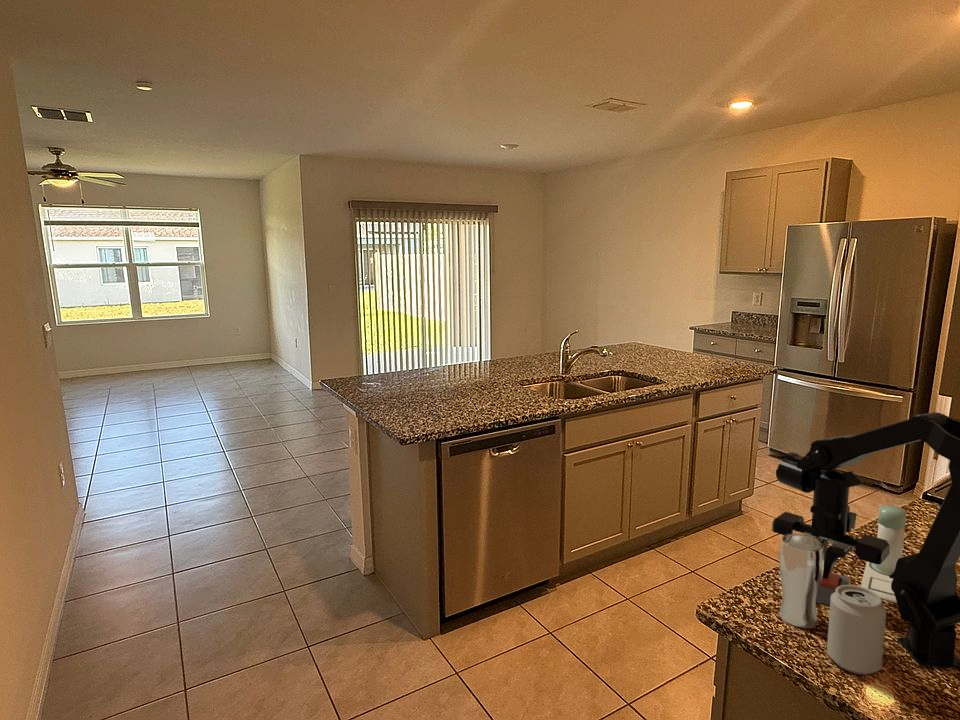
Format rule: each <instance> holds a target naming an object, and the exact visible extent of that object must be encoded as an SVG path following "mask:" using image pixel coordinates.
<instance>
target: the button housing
mask: <svg viewBox="0 0 960 720" xmlns="http://www.w3.org/2000/svg"><path fill="white" fill-rule="evenodd" d="M831 573H833V574H836V575H840V582H839V586H842V585H851V577H850V576H846V575H843V574H839V573H835V572H832V571H831ZM834 592H836V589H833V588H829V587H825V586H822V585H820V589H819V592H818V595H817V599H816V603H818V604H823V605H825V606H829V607H830V599H831V595H832V594H833V593H834Z"/></svg>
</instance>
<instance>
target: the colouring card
mask: <svg viewBox="0 0 960 720" xmlns="http://www.w3.org/2000/svg"><path fill="white" fill-rule="evenodd" d="M890 575H891V573H886V572H883V571H881V570H879V569H877V568H876V567H875V564H874V563H871V562H867V561H866V564H865V567H864V571H863V575H862V580H861V584H860V587H863V588H866V589H869V590H870V591H872V592H874V593H876V594H877V595H878V596H879V597H880V598H881V599H882V601H887V602H890V603H894V604H897V601H896V597H895V594H894V592H893V591H892V590H891V583H892V580H893V579H892V578H890V577H889V576H890Z"/></svg>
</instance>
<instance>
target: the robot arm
mask: <svg viewBox="0 0 960 720" xmlns="http://www.w3.org/2000/svg"><path fill="white" fill-rule="evenodd" d="M916 442H924V443H925V444H926V445H928V446H929V447H930V448H931V449H932V450H933V451H934V452H935V453H936V454H937V455H939V456H941V457H943V458H945V459H947V460H949V463H948V472H949V475H950V480H951V481H950V486H949V488H948V490H947V493H946V495H945V497H944V499H943V501H942V503H941V505H940V507H939V509H938V512H937V514H936V515H935V518H934V520H933V523H932V524H931V527H930V528H929V531H928V533H927V535H926V536H925V540H924V542H923V544H922V546H921V548H920V550H919V551H918V552H917V553H916V552H915V553H913V554H910V555H907V556H902V558H899V559H898V561H897V563H896V567H895V571H894V572H893V574H891V575H890V576H889V577H890V578H892V579H893V580H892V583H891V590H892V591H893V592H894V594H895V597H896V601H897V603H896V604H897V608H898V611H899V616H900V619H902V620H903V621H905V622H907V623H908V631H907V632H908V633H907V637H898V639H897V643H899V644H900V645H901V646H902V647H903V648H904V650H905V651H906V652H907V653H908V654H909V655H910V656H911V658H913V660H914V661H915V662H916V663H917V664H918V665H920V666H922V667H935V668H949V669H951V668H952V669H960V659H959V658H958V657H957V656H956V654H955V651H956V643H957V642H956V641H957V630H956V627H957V626H956V625H957V624H960V595H959V594H958V592H957V590H956V588H957V586H958V585H957V584H958V581H959V580H958V575H957V571H956V564H957V563H958V560H959V559H960V420H958V419H955V418H952V417H950V416H949V415H946V414H943V413H941V412H936V411H934V412H927V413H921V414H920V413H919V414H915V415H913V416H912V417H911V418H908V419H904V420H901V421H898V422H895V423H891V424H888V425H884V426H882V427H878V428H875V429H872V430H869V431H865V432H862V433H858V434H857V433H856V434H847V435H845V434H844V435H838V436H833V437H827V438H821V439H816V440H814V441H812V443H810V450H809V451H808V452H807V453H806V454H805V455H804V456H802V455H800V454H798V453H796V452H794V451H793V452H787V453H786V452H785V454H784V458H783V459H782V460H781V461H780V462H779V464H778V466H777V467H776V469H775V476H776V480H777V481H778V482H779V483H781V484H783V485H786V486H788V487H791V488H793V489H795V490H798V491H800V492H803V493H809V494H810V493H811V492H813V497H812V505H811V506H810V509H809V510H810V511H809V513H811V524H808V523H805V518H804V517H803V515H798V514H795V513H792V512H788V511H784V512H782V513H781V514H780V515H778V516H777V517H775V518H773V520H772V524H771V529H772V530H771V531H772V532H773V533H775V534H778V535H782V536H784V535H787V534H794V533H793V532H794V531H795V532H797V533H800V534H803V535H807V536H811V537H813V538H816V539H818V540H819V541H821V542H822V543H823V545H824V548H823V550H824V570H823V577H824V578H828V577H829V575H830V573H831V572H832V571H833V569H834V567H835V565H836V564H837V561H838V560H839V558H845V557H846V556H848V554H849V553H850V552H851V551H852V550H853V549H854V554H855V555H856V557H857V558H858V559H859V560H861V561H865V562H866V563H867V562H871V563H874V564H881V563H882V562H883V561H884V560H885V559H886V558H887V556H888V555H889V551H890V545H889V544H888V542H887V541H886V540H884V539H880V538H877V536H872V535H869V534H866V533H865V534H864V535H862V537H861V538H856V537H854V536H853V535H848V534H849V533H851V531H852V530H855V526H856V521H857V515H858V513H856V512H853V511H851V510H850V505H849V496H850V488H853V487H857V486H861V485H862V484H863V482H862V481H861V480H860V478H859V477H857V476H856V475H855V474H854V472H853V471H852V470H850V471H845V472H842V471H839V470H837V469H839V468H840V469H841V468H844V467H851V466H853V465H855V464H857V463H860V462H861V461H864V460H865V459H867V458H868V457H869V456H871V455H873V454H874V453H878V452H882V451H887V450H889V449H893V448H897V447H901V446H904V445H909V444H912V443H916ZM835 469H836V470H835ZM847 533H848V534H847ZM829 542H830V544H831V545H830V546H828V545H829Z"/></svg>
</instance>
